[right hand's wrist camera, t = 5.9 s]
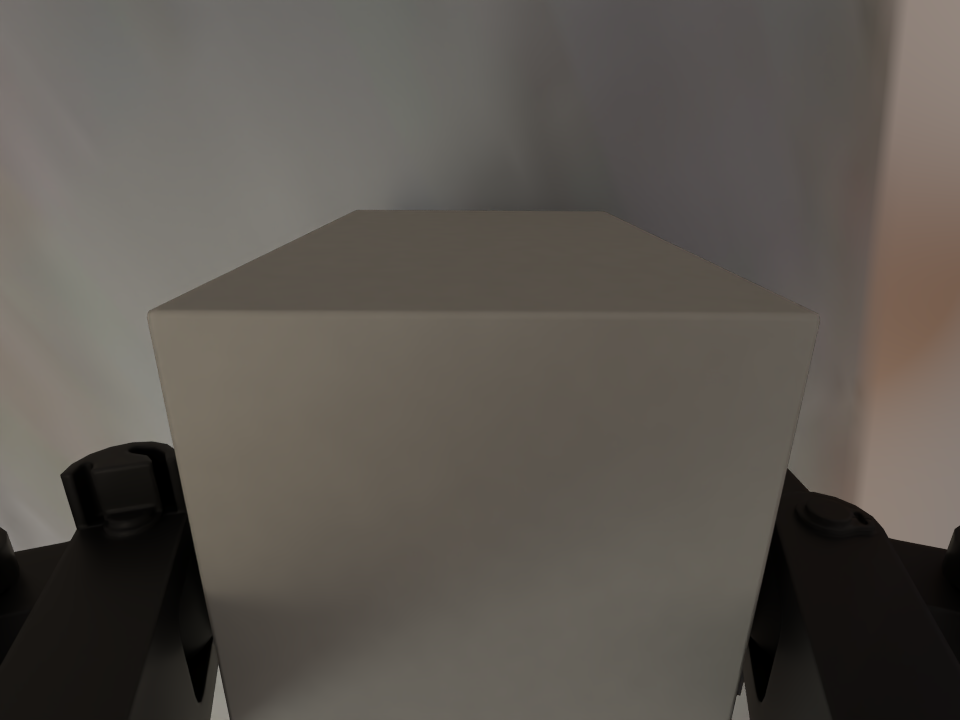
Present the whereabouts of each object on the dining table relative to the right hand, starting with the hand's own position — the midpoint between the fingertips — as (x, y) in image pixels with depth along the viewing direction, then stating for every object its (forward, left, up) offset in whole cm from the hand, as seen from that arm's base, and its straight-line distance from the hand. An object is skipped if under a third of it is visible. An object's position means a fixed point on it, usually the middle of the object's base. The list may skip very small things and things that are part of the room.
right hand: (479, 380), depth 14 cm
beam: (+15, +17, -1) cm, 23 cm away
